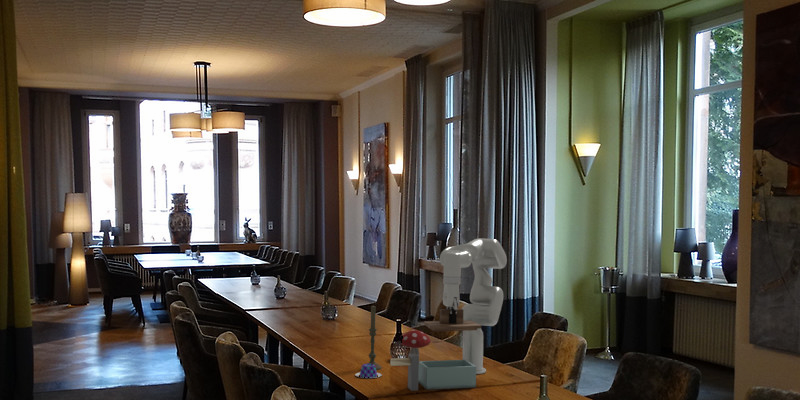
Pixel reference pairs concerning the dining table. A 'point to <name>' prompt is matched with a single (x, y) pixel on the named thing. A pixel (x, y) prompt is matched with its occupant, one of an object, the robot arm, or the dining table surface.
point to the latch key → (400, 361)
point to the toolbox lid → (446, 326)
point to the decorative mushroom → (415, 340)
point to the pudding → (368, 371)
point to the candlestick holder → (372, 334)
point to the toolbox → (440, 374)
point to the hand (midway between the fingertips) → (451, 322)
